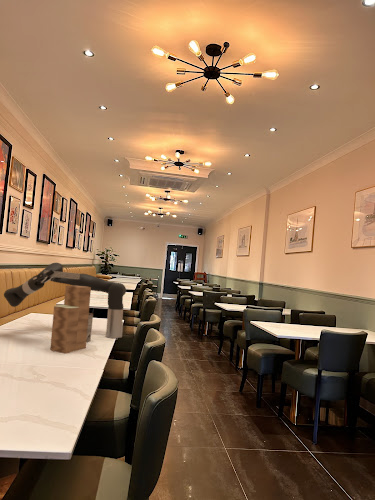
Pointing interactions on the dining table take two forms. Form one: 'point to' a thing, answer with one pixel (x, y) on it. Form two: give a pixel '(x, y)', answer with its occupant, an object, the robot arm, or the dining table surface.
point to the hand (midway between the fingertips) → (55, 271)
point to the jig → (71, 320)
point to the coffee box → (89, 327)
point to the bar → (65, 275)
